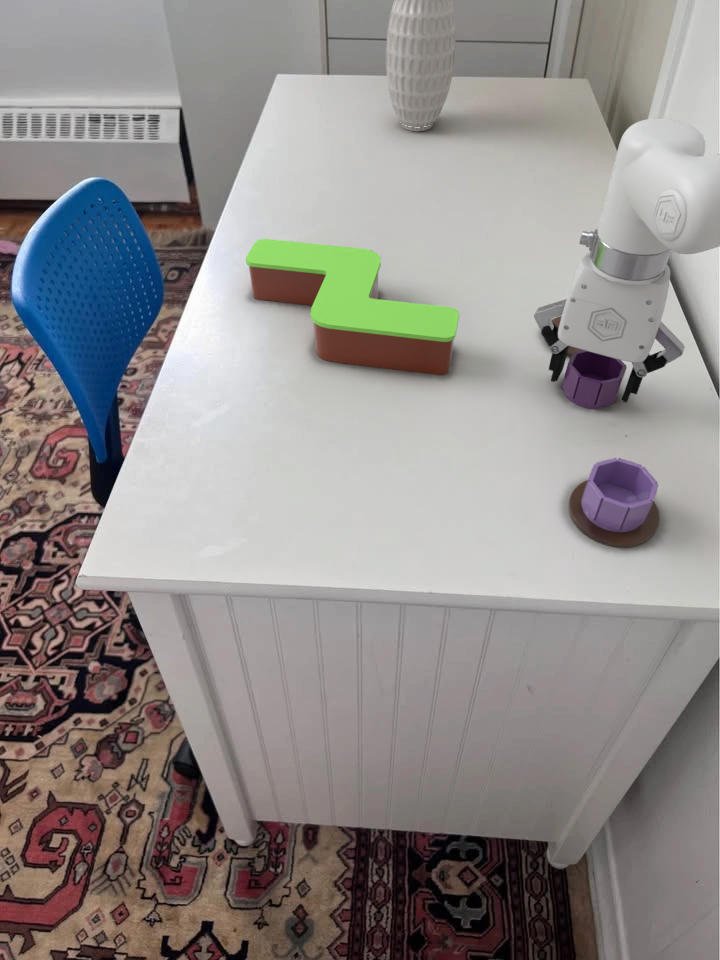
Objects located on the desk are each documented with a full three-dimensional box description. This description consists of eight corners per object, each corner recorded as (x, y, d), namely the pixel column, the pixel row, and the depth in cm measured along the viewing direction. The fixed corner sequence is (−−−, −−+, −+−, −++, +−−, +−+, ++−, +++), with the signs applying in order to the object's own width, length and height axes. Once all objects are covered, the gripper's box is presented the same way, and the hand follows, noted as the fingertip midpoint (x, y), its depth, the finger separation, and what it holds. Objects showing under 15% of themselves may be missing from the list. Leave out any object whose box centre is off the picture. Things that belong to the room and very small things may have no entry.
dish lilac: (651, 497, 75) (662, 471, 72) (637, 541, 71) (649, 515, 68) (589, 477, 77) (598, 451, 74) (574, 519, 73) (582, 493, 70)
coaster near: (665, 497, 75) (667, 493, 75) (648, 559, 70) (649, 556, 70) (581, 470, 78) (582, 466, 78) (558, 528, 73) (559, 524, 72)
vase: (381, 137, 138) (383, -40, 118) (388, 111, 147) (391, -58, 126) (447, 140, 137) (461, -38, 116) (450, 114, 146) (464, -56, 125)
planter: (465, 296, 101) (470, 259, 97) (450, 377, 89) (454, 339, 85) (262, 275, 106) (257, 238, 101) (220, 349, 93) (213, 311, 89)
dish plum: (622, 383, 88) (630, 357, 85) (609, 415, 84) (618, 388, 81) (570, 369, 90) (577, 343, 87) (556, 399, 86) (563, 373, 83)
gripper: (537, 251, 74) (512, 382, 87) (713, 292, 69) (658, 426, 82) (557, 218, 78) (530, 348, 91) (724, 254, 73) (671, 387, 86)
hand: (591, 384), depth 86 cm, fingers open, 8 cm apart
